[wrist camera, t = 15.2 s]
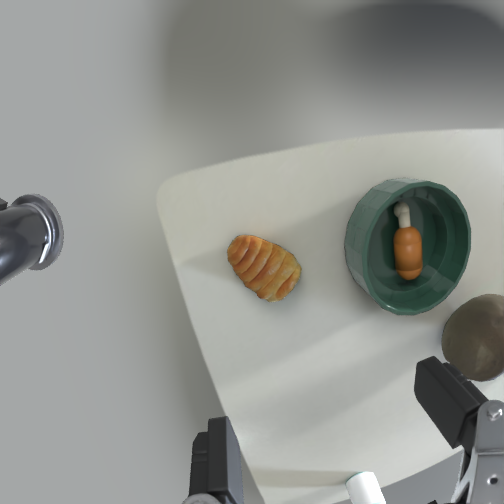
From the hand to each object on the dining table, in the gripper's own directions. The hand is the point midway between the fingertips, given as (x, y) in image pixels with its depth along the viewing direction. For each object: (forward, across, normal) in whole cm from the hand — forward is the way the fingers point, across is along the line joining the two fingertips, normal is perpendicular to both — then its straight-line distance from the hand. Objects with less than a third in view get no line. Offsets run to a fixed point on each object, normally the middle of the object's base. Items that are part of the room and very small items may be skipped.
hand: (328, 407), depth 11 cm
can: (+30, -12, +62) cm, 70 cm away
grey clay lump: (+29, -32, +22) cm, 48 cm away
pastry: (+30, 0, +4) cm, 30 cm away
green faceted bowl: (+29, -19, +4) cm, 35 cm away
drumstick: (+29, -19, +5) cm, 35 cm away
